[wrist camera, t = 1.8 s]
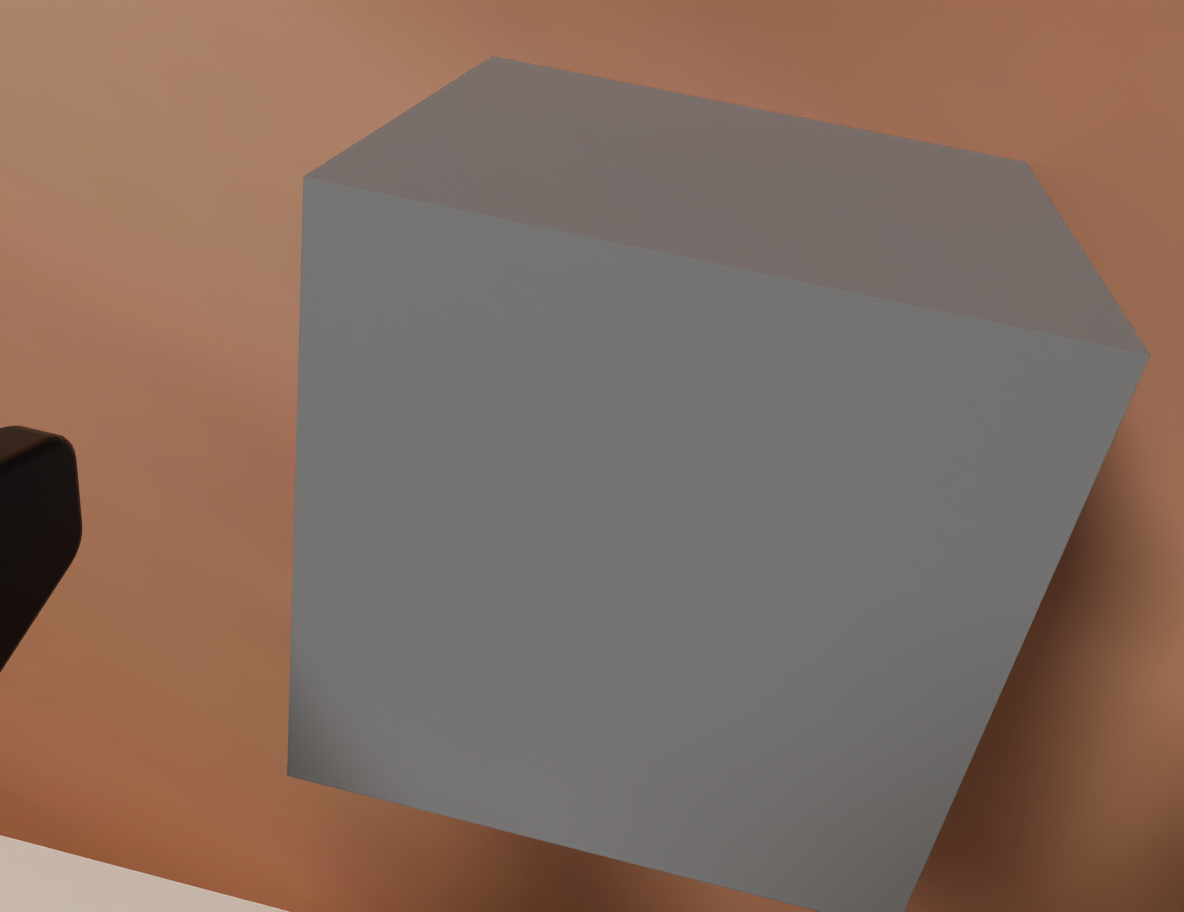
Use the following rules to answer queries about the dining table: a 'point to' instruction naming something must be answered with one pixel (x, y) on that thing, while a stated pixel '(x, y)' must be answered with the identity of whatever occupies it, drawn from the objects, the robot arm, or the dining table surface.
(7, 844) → the tower bottom block
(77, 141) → the dining table surface
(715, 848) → the gray block
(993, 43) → the dining table surface
